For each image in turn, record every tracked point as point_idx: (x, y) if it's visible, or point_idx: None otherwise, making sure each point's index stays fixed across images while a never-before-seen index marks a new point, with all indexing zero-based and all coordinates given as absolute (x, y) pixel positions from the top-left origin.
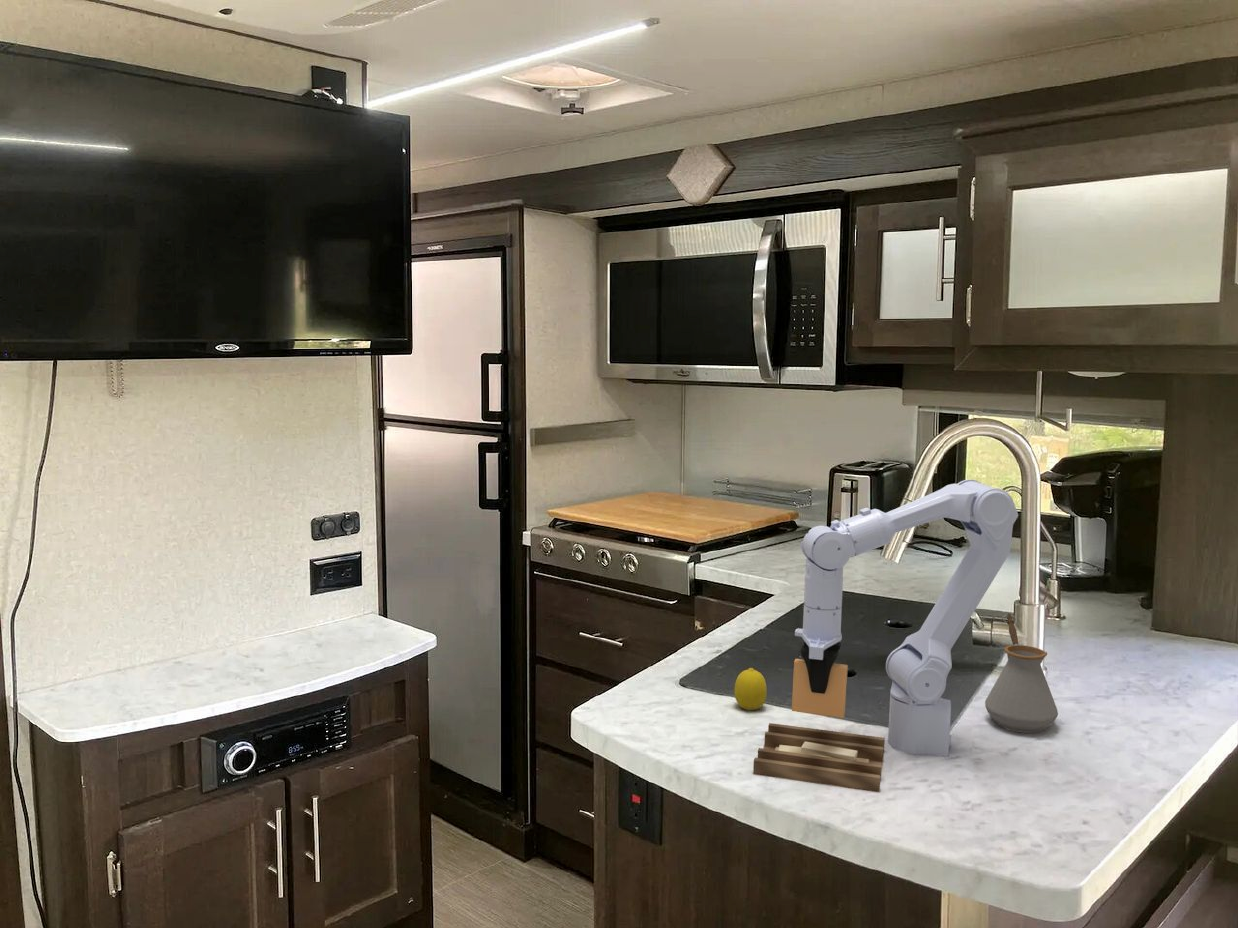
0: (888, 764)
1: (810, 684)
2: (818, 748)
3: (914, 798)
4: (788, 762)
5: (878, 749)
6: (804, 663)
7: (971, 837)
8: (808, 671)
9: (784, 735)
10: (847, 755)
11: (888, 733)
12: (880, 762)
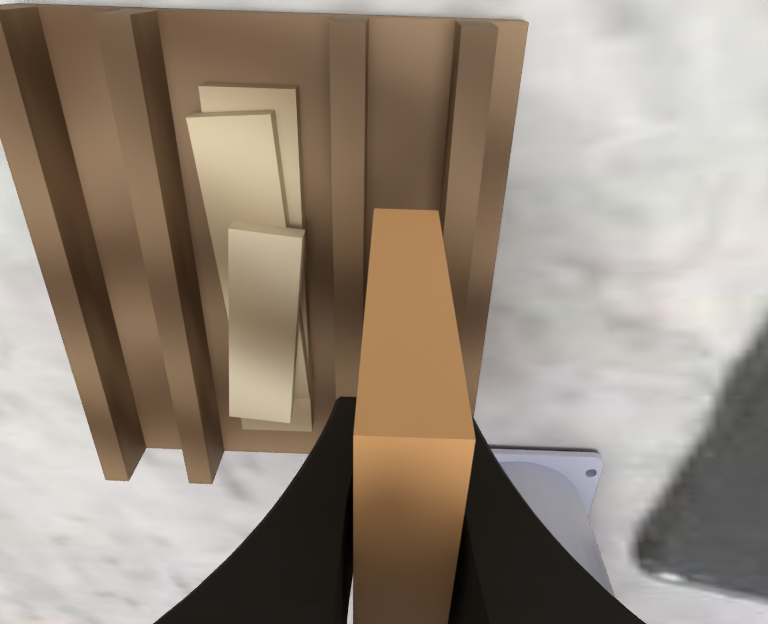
0: None
1: (324, 428)
2: (248, 297)
3: (181, 502)
4: (47, 187)
5: None
6: (356, 510)
7: (48, 583)
8: (277, 504)
9: (346, 134)
10: (231, 395)
11: (519, 490)
12: None
